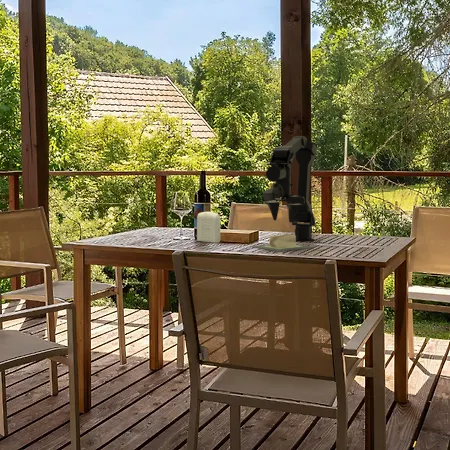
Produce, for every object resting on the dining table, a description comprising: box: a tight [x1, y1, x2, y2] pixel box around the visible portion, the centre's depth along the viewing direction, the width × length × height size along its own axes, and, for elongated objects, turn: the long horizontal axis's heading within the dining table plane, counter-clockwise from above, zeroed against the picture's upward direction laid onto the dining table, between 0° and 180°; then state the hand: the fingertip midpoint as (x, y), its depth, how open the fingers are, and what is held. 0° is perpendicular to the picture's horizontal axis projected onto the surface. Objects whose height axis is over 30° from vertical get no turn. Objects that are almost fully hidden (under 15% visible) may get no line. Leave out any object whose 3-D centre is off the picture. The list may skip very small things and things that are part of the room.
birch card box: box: [269, 234, 297, 248], centre depth 268 cm, size 5×9×4 cm, turn 126°
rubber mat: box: [251, 243, 315, 253], centre depth 269 cm, size 18×16×1 cm
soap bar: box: [196, 211, 221, 244], centre depth 285 cm, size 10×4×12 cm, turn 56°
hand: (282, 221), depth 267 cm, fingers open, 9 cm apart
